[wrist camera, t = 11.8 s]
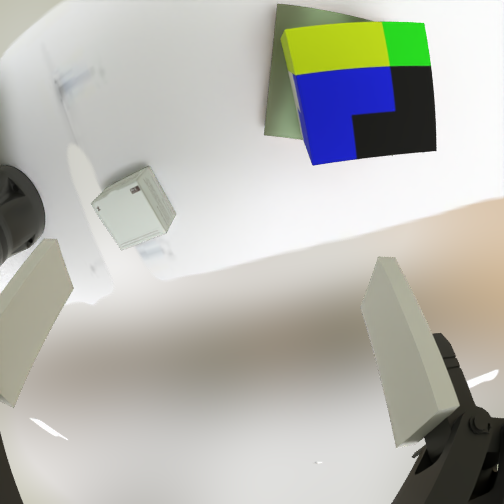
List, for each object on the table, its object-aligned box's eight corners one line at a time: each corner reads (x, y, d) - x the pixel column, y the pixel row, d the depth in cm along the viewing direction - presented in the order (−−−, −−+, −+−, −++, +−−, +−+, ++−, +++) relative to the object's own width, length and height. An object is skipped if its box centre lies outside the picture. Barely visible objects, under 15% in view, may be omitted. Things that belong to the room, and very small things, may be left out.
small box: (133, 231, 43) (120, 252, 39) (106, 186, 39) (88, 203, 35) (178, 214, 41) (167, 234, 37) (150, 163, 37) (135, 179, 33)
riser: (264, 126, 34) (264, 135, 30) (276, 10, 26) (277, 3, 22) (380, 144, 34) (392, 155, 30) (399, 35, 26) (415, 34, 22)
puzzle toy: (300, 132, 30) (312, 165, 22) (280, 38, 24) (284, 29, 16) (393, 121, 28) (436, 150, 20) (380, 29, 23) (424, 23, 15)
